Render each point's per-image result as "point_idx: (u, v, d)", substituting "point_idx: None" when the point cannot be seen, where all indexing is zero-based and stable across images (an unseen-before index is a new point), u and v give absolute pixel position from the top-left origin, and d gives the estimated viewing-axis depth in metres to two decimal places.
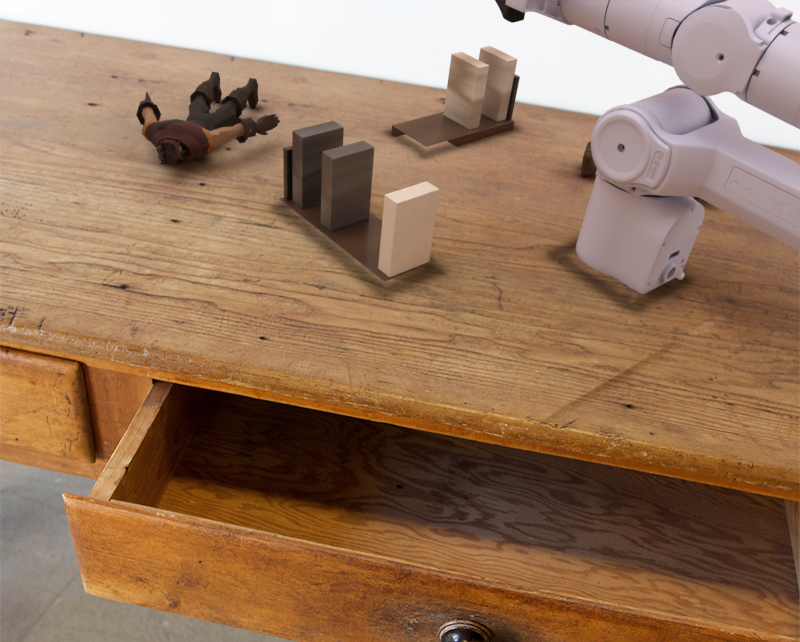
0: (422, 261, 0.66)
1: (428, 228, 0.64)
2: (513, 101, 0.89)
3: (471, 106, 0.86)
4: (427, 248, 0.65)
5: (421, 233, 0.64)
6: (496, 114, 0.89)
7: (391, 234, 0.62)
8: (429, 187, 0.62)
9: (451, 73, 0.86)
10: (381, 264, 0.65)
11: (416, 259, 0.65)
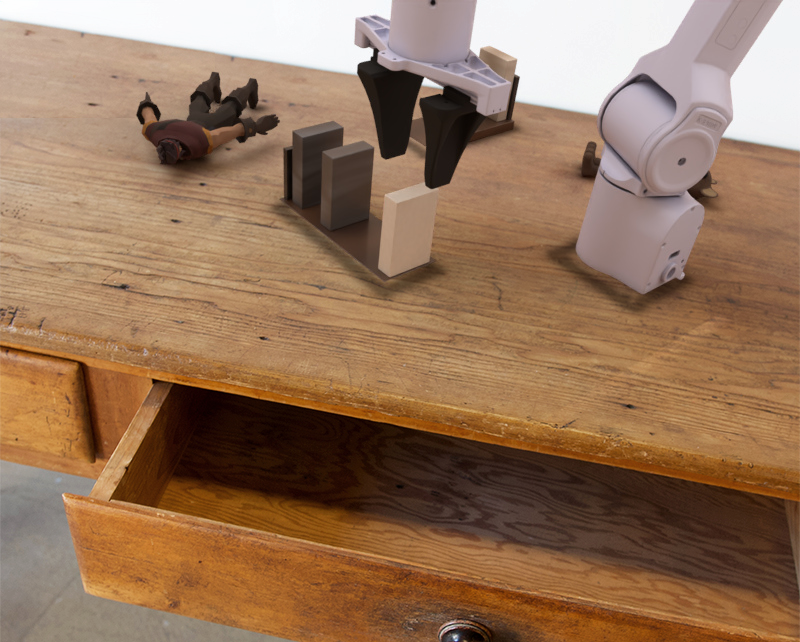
0: (422, 261, 0.66)
1: (428, 228, 0.64)
2: (513, 101, 0.89)
3: None
4: (427, 248, 0.65)
5: (421, 233, 0.64)
6: (496, 114, 0.89)
7: (391, 234, 0.62)
8: None
9: None
10: (381, 264, 0.65)
11: (416, 259, 0.65)
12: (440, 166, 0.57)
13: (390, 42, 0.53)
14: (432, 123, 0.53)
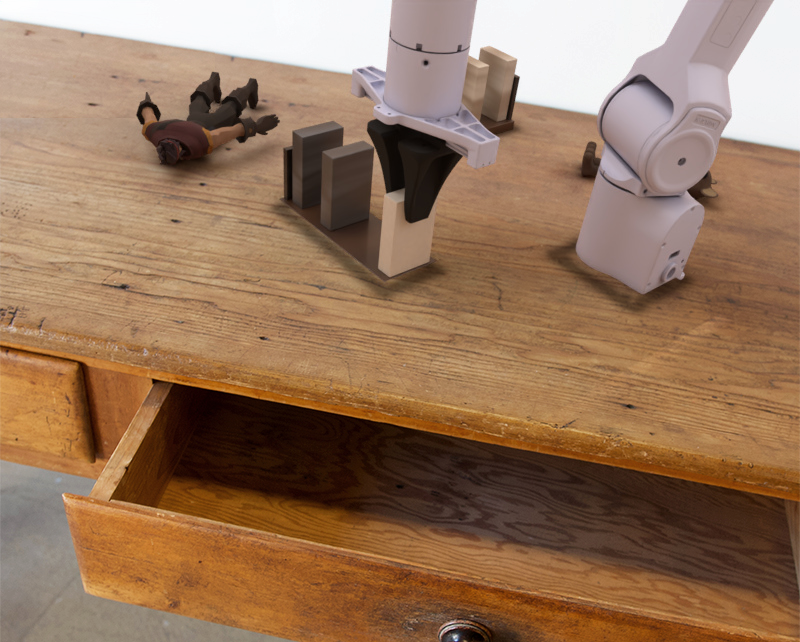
0: (422, 261, 0.66)
1: (428, 228, 0.64)
2: (513, 101, 0.89)
3: (471, 106, 0.86)
4: (427, 248, 0.65)
5: (421, 233, 0.64)
6: (496, 114, 0.89)
7: (391, 234, 0.62)
8: None
9: None
10: (381, 264, 0.65)
11: (416, 258, 0.65)
12: (419, 202, 0.60)
13: (385, 96, 0.55)
14: (410, 164, 0.56)
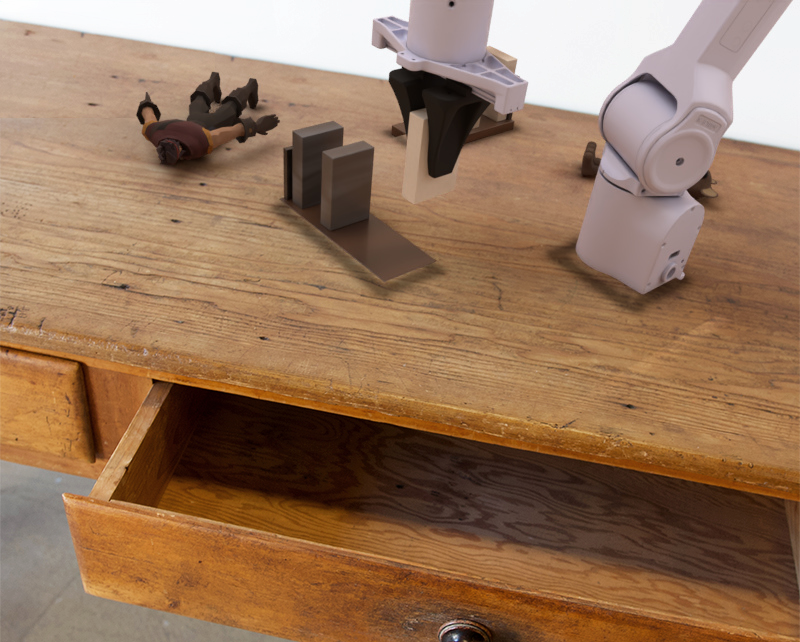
0: (448, 189, 0.63)
1: None
2: None
3: None
4: (453, 175, 0.62)
5: None
6: (496, 114, 0.89)
7: (416, 156, 0.58)
8: None
9: None
10: (405, 191, 0.61)
11: (442, 186, 0.62)
12: (443, 156, 0.59)
13: (408, 43, 0.54)
14: (435, 113, 0.55)
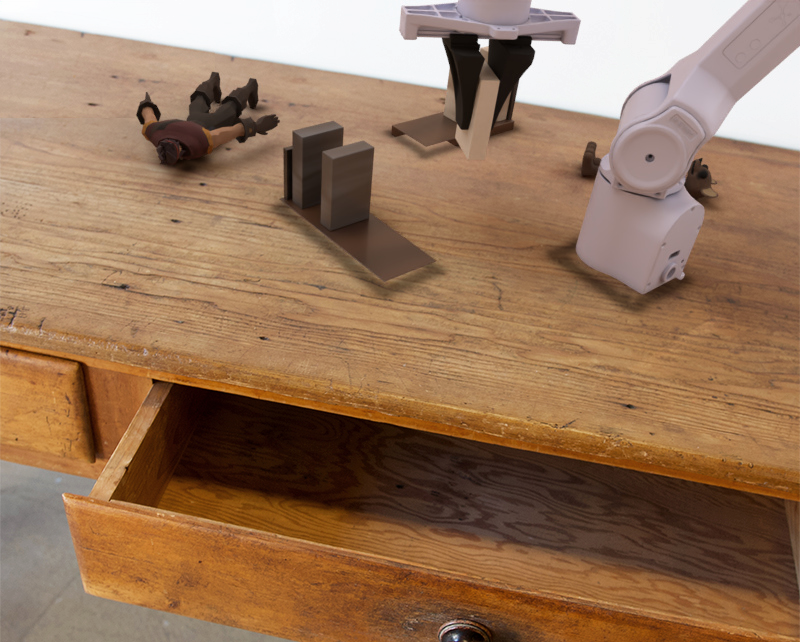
0: None
1: None
2: (513, 101, 0.89)
3: None
4: None
5: None
6: None
7: (490, 116, 0.64)
8: None
9: None
10: (473, 153, 0.66)
11: None
12: None
13: (489, 18, 0.58)
14: (516, 69, 0.62)
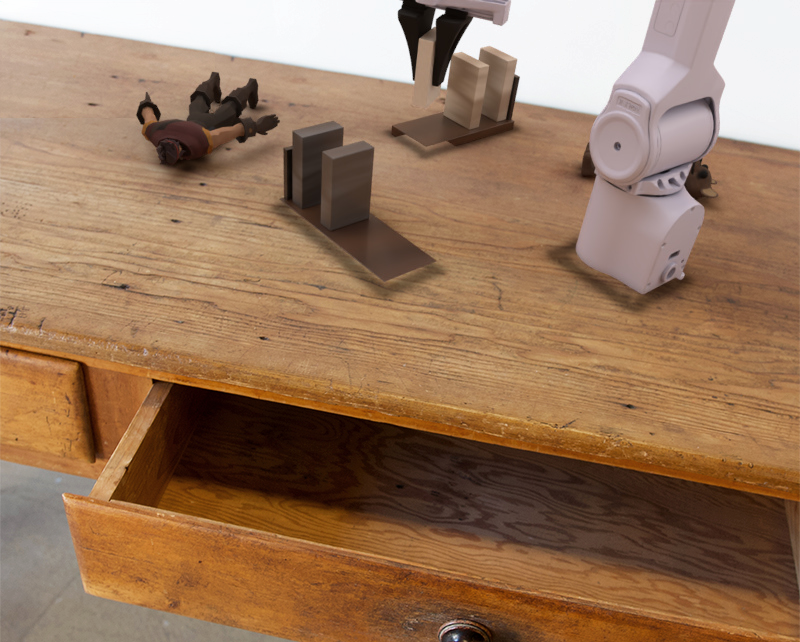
0: (437, 95, 0.84)
1: None
2: (513, 101, 0.89)
3: (471, 106, 0.86)
4: None
5: None
6: (496, 114, 0.89)
7: (427, 71, 0.79)
8: None
9: (451, 73, 0.86)
10: (416, 101, 0.82)
11: (435, 92, 0.83)
12: (442, 68, 0.80)
13: None
14: (445, 35, 0.76)
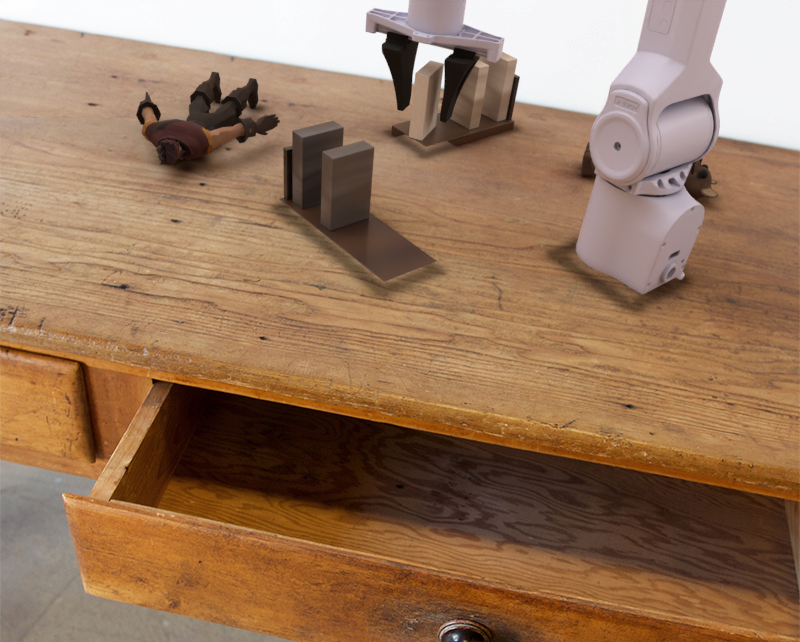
0: (433, 125, 0.86)
1: (437, 97, 0.84)
2: (513, 101, 0.89)
3: (471, 106, 0.86)
4: (436, 114, 0.86)
5: (435, 101, 0.84)
6: (496, 114, 0.89)
7: (423, 104, 0.81)
8: (437, 63, 0.82)
9: None
10: (412, 132, 0.84)
11: (432, 123, 0.86)
12: (450, 104, 0.82)
13: (415, 25, 0.76)
14: (453, 74, 0.78)
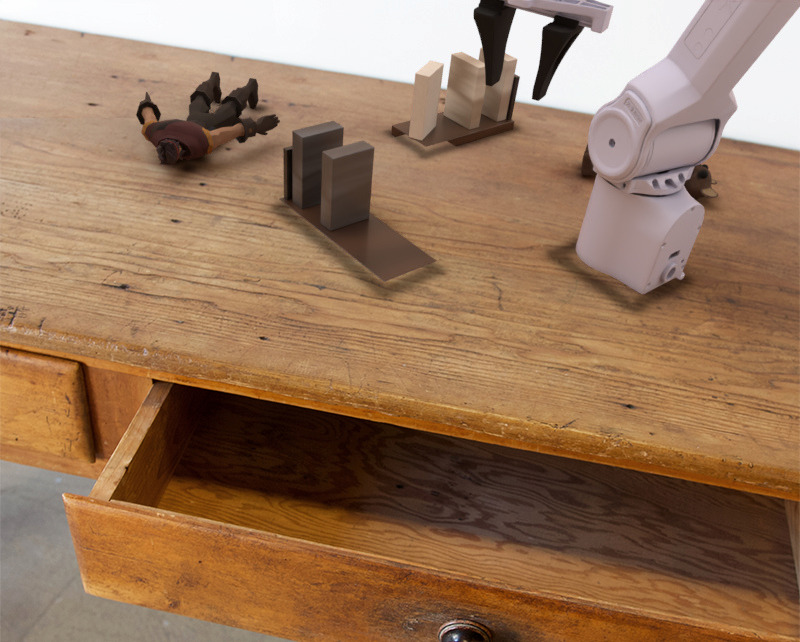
0: (433, 125, 0.86)
1: (437, 97, 0.84)
2: (513, 101, 0.89)
3: (471, 106, 0.86)
4: (436, 114, 0.86)
5: (435, 101, 0.84)
6: (496, 114, 0.89)
7: (423, 104, 0.81)
8: (437, 63, 0.82)
9: (451, 73, 0.86)
10: (412, 132, 0.84)
11: (432, 123, 0.86)
12: (545, 81, 0.73)
13: None
14: (552, 45, 0.69)
